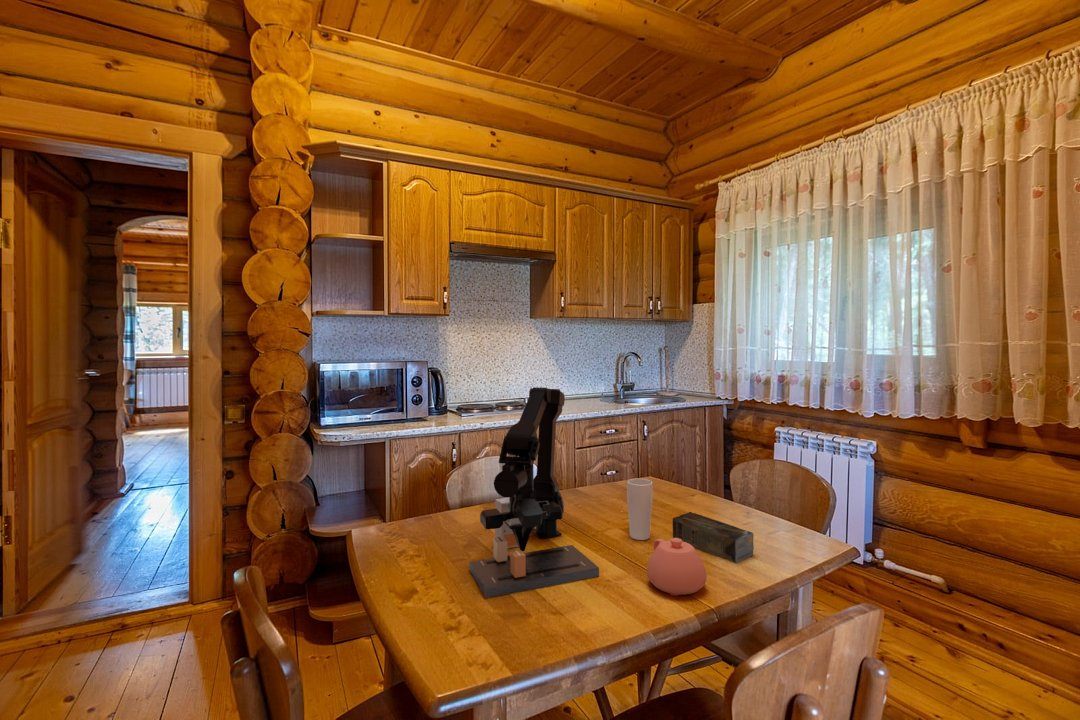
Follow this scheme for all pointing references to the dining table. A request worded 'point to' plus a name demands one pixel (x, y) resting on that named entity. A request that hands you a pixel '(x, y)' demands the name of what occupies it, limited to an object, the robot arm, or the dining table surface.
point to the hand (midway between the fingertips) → (522, 550)
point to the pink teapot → (676, 567)
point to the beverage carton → (714, 536)
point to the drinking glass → (639, 507)
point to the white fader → (500, 549)
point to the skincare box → (504, 529)
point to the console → (533, 571)
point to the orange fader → (518, 563)
